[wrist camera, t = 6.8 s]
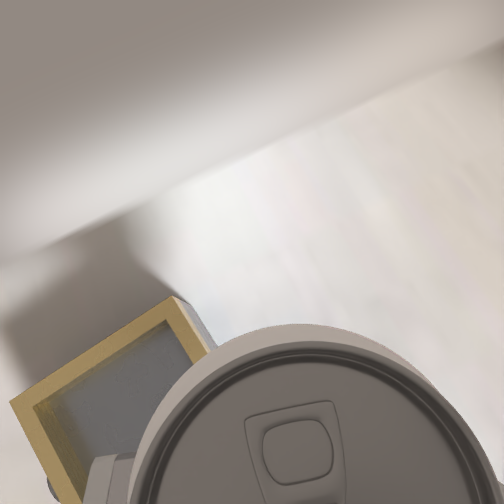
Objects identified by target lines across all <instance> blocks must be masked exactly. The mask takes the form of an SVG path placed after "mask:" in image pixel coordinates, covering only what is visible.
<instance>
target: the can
mask: <svg viewBox="0 0 504 504" xmlns="http://www.w3.org/2000/svg"><path fill="white" fill-rule="evenodd" d="M127 504H504V498H503V495H502V492H501V489H500V486H499V483H498V480H497V478H496V475H495V473H494V471H493V468H492V466H491V464H490V462H489V460H488V457H487V456H486V454H485V452H484V450H483V448H482V446H481V445H480V443H479V441H478V440H477V438H476V436H475V435H474V433H473V432H472V430H471V429H470V428H469V426H468V425H467V423H466V422H465V421H464V419H463V418H462V417H461V416H460V414H459V413H458V412H457V411H456V410H455V408H454V407H453V406H452V405H451V404H450V403H449V402H448V401H447V400H446V399H445V398H444V397H443V396H442V395H441V394H440V393H439V392H438V390H437V389H436V388H435V387H434V386H433V385H432V384H431V382H430V381H429V380H428V379H427V378H426V377H425V376H424V375H423V374H422V373H420V372H419V371H418V370H417V369H416V368H415V367H414V366H412V365H411V364H410V363H409V362H408V361H406V360H405V359H404V358H402V357H401V356H399V355H398V354H396V353H395V352H393V351H392V350H390V349H388V348H387V347H385V346H383V345H381V344H379V343H377V342H375V341H373V340H371V339H369V338H366V337H364V336H361V335H359V334H356V333H353V332H350V331H346V330H342V329H338V328H334V327H329V326H322V325H313V324H288V325H279V326H272V327H267V328H263V329H259V330H255V331H252V332H249V333H246V334H244V335H241V336H239V337H236V338H234V339H232V340H230V341H228V342H226V343H224V344H222V345H221V346H219V347H217V348H215V349H214V350H212V351H211V352H209V353H208V354H207V355H205V356H204V357H202V358H201V359H200V360H199V361H197V362H196V363H195V364H194V365H193V366H192V367H190V368H189V369H188V370H187V371H186V372H185V373H184V374H183V375H182V376H181V377H180V378H179V380H178V381H177V382H176V383H175V384H174V385H173V387H172V388H171V389H170V390H169V392H168V393H167V394H166V396H165V397H164V399H163V400H162V401H161V403H160V405H159V406H158V408H157V409H156V411H155V413H154V414H153V416H152V418H151V420H150V422H149V424H148V426H147V428H146V430H145V432H144V435H143V437H142V439H141V442H140V445H139V448H138V450H137V454H136V457H135V460H134V464H133V468H132V473H131V477H130V483H129V490H128V499H127Z"/></svg>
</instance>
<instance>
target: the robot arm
mask: <svg viewBox="0 0 504 504" xmlns="http://www.w3.org/2000/svg"><path fill="white" fill-rule="evenodd" d="M136 454H137V451H136V452H129V453H122V454H114V455H107V456H101V457H95V459H94V461H93V463H92V465H91V468H90V472H89V477H88V481H87V485H86V490H85V494H84V498H83V503H82V504H127V499H128V490H129V483H130V477H131V473H132V468H133V464H134V460H135V457H136ZM498 483H499V486H500V489H501V492H502V495H503V498H504V485H503V484H502V483H501V482H499V481H498Z"/></svg>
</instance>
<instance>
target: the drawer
mask: <svg viewBox="0 0 504 504" xmlns="http://www.w3.org/2000/svg"><path fill="white" fill-rule="evenodd" d="M215 348H217V345H216V343H215V342H214V340H213V339H212V337H211V335H210V334H209V332H208V331H207V329H206V327H205V326H204V324H203V323H202V321H201V320H200V318H199V316H198V315H197V313H196V312H195V310H194V308H193V307H192V306H191V305H189V304H187V303H185V302H183V301H181V300H180V299H178V298H176V297H174V296H172V295H171V296H170V297H168V298H167V299H165V300H164V301H162V302H161V303H159V304H158V305H156V306H154V307H153V308H151V309H150V310H148V311H147V312H145V313H144V314H142V315H141V316H139V317H138V318H136V319H135V320H133V321H131V322H130V323H128V324H127V325H125V326H124V327H122V328H121V329H119V330H118V331H116V332H115V333H113V334H112V335H110V336H109V337H107V338H105V339H104V340H102V341H101V342H99V343H98V344H96V345H95V346H93V347H92V348H90V349H89V350H87V351H86V352H84V353H83V354H81V355H79V356H78V357H76V358H75V359H73V360H72V361H70V362H69V363H67V364H66V365H64V366H63V367H61V368H60V369H58V370H56V371H55V372H53V373H52V374H50V375H49V376H47V377H46V378H44V379H43V380H41V381H40V382H38V383H37V384H35V385H34V386H32V387H30V388H29V389H27V390H26V391H24V392H23V393H21V394H20V395H18V396H17V397H15V398H14V399H12V400H11V401H9V402H10V404H11V406H12V408H13V410H14V412H15V414H16V416H17V418H18V420H19V422H20V424H21V426H22V428H23V430H24V432H25V434H26V436H27V438H28V440H29V442H30V444H31V446H32V448H33V450H34V452H35V454H36V456H37V458H38V459H39V461H40V463H41V465H42V467H43V469H44V471H45V473H46V475H47V483H48V487H49V489H50V492H51V493H52V495H53V496H54V498H55V499H56V500H57V501H58V502H60V503H61V504H82V503H83V498H84V494H85V490H86V485H87V481H88V477H89V472H90V468H91V465H92V463H93V461H94V459H95V457H101V456H107V455H114V454H122V453H129V452H136V451H137V450H138V448H139V445H140V442H141V439H142V437H143V435H144V432H145V430H146V428H147V426H148V424H149V422H150V420H151V418H152V416H153V414H154V413H155V411H156V409H157V408H158V406H159V405H160V403H161V401H162V400H163V399H164V397H165V396H166V394H167V393H168V392H169V390H170V389H171V388H172V387H173V385H174V384H175V383H176V382H177V381H178V380H179V378H180V377H181V376H182V375H183V374H184V373H185V372H186V371H187V370H188V369H189V368H190V367H192V366H193V365H194V364H195V363H196V362H197V361H199V360H200V359H201V358H202V357H204V356H205V355H207V354H208V353H209V352H211V351H212V350H214V349H215Z"/></svg>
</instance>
